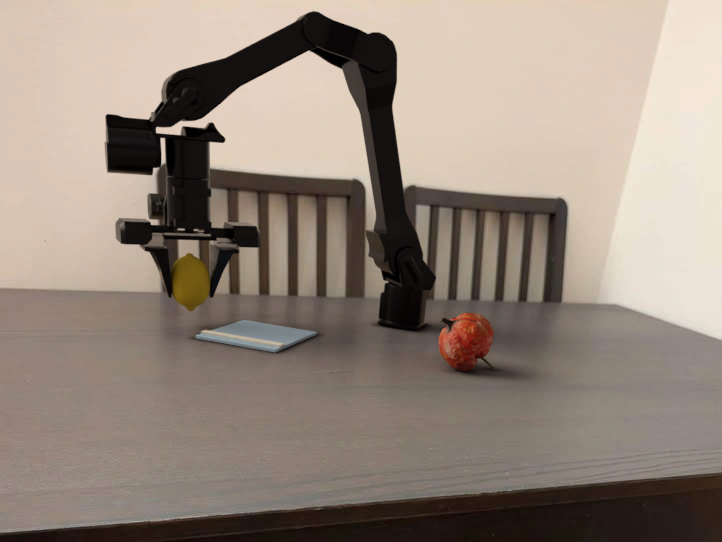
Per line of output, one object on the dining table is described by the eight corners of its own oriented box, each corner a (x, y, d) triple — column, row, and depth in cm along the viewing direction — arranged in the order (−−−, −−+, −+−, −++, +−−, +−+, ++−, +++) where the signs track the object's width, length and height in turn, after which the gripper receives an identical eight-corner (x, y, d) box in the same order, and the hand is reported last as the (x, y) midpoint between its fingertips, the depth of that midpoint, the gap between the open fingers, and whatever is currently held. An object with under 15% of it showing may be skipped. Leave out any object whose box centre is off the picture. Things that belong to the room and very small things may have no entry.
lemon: (169, 307, 105) (167, 249, 102) (208, 307, 107) (207, 251, 104) (172, 315, 100) (170, 255, 97) (212, 315, 102) (212, 256, 99)
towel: (316, 334, 105) (317, 329, 105) (275, 352, 94) (275, 347, 93) (243, 322, 108) (243, 317, 108) (195, 338, 97) (194, 333, 97)
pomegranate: (471, 376, 99) (419, 328, 96) (511, 338, 96) (459, 287, 93) (477, 398, 93) (421, 347, 89) (520, 358, 90) (464, 304, 87)
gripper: (240, 178, 107) (239, 287, 113) (107, 170, 99) (114, 286, 106) (262, 183, 98) (260, 301, 104) (117, 174, 90) (124, 302, 97)
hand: (190, 297), depth 103 cm, fingers closed on lemon, 5 cm apart
